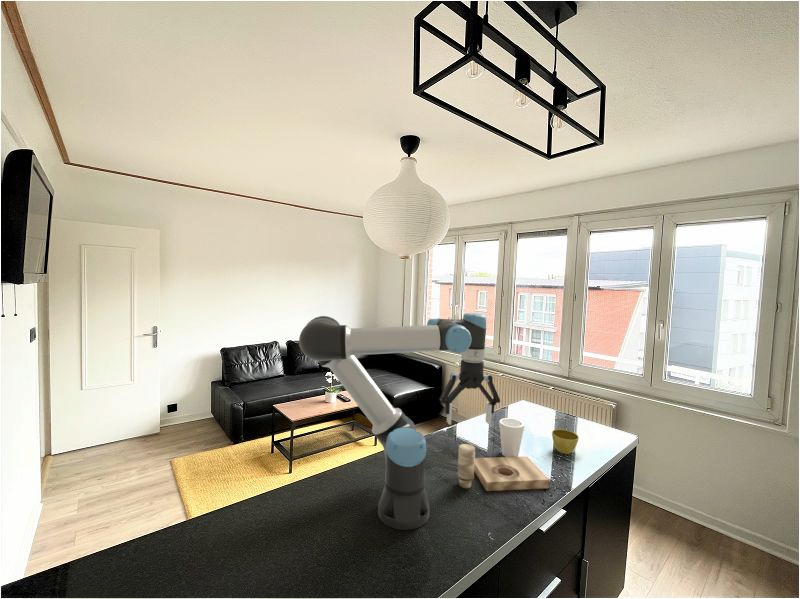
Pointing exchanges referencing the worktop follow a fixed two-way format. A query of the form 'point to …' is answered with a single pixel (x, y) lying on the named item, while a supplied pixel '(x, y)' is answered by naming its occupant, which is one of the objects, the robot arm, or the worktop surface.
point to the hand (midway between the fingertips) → (468, 422)
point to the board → (509, 473)
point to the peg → (466, 465)
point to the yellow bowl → (564, 440)
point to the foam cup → (511, 436)
